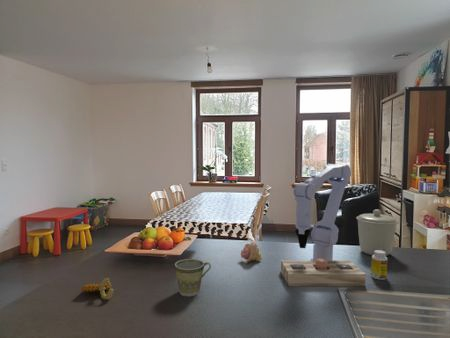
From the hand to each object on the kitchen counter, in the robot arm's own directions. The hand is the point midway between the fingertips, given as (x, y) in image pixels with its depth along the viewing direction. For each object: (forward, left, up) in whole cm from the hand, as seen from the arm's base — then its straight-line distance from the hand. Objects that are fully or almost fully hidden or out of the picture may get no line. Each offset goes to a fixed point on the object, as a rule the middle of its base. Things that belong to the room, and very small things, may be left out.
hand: (302, 247), depth 130 cm
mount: (+5, +6, -10) cm, 13 cm away
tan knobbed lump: (-14, -19, -11) cm, 26 cm away
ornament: (+18, -73, -11) cm, 76 cm away
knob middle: (+5, +6, -7) cm, 10 cm away
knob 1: (+5, -3, -9) cm, 11 cm away
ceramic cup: (+16, -42, -11) cm, 46 cm away
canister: (-25, +42, -11) cm, 50 cm away
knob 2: (+5, +15, -9) cm, 18 cm away
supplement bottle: (+4, +29, -11) cm, 31 cm away
